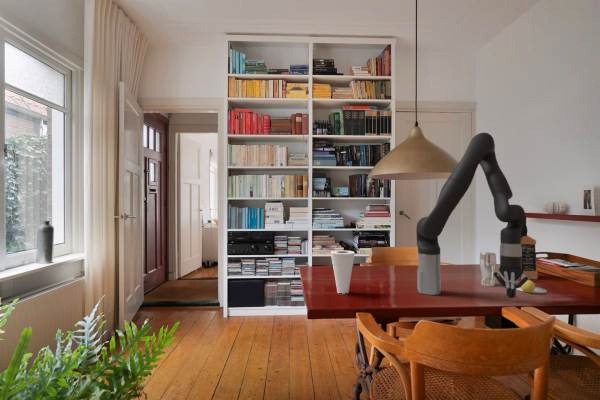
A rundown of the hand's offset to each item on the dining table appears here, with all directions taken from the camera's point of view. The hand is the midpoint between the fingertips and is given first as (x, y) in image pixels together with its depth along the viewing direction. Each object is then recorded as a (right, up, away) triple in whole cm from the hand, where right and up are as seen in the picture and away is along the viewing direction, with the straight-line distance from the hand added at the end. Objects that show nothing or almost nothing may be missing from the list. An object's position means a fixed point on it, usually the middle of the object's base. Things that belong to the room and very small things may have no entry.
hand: (511, 297), depth 138 cm
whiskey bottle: (+32, -1, +42) cm, 53 cm away
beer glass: (+6, -2, +27) cm, 28 cm away
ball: (+15, +1, +13) cm, 20 cm away
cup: (-66, -2, +15) cm, 67 cm away
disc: (+19, -1, +17) cm, 26 cm away
